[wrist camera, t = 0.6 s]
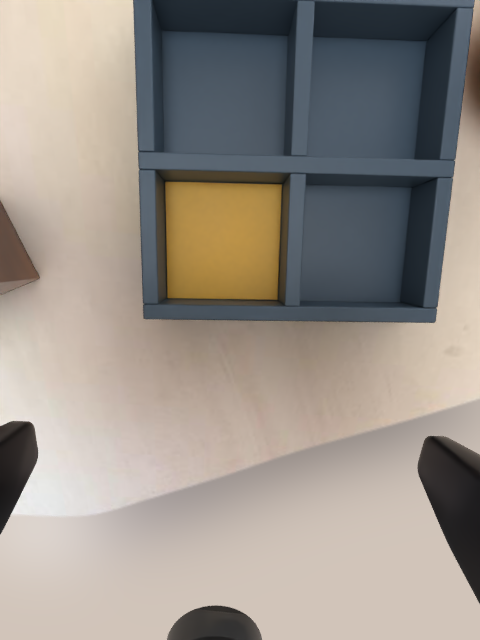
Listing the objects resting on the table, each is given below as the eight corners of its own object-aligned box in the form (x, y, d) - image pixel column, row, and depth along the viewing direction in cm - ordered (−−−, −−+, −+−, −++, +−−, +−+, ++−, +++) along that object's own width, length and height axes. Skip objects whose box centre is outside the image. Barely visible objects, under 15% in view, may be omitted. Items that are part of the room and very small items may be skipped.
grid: (404, 313, 21) (436, 323, 18) (156, 310, 21) (142, 319, 18) (433, 34, 19) (477, -13, 15) (149, 23, 18) (131, -29, 15)
